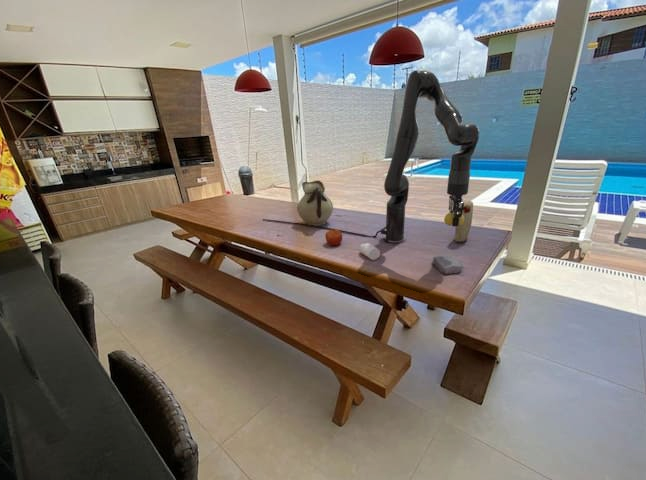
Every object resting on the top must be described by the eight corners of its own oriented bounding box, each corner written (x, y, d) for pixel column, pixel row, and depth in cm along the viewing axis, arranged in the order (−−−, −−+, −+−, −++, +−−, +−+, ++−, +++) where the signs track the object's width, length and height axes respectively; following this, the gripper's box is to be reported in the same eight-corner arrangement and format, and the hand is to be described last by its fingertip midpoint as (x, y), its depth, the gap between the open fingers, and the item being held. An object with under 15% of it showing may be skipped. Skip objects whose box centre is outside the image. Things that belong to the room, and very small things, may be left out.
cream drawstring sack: (313, 216, 208) (310, 178, 197) (342, 221, 196) (340, 181, 185) (291, 225, 192) (286, 185, 181) (321, 231, 179) (318, 188, 169)
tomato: (331, 248, 155) (331, 233, 151) (322, 243, 162) (321, 229, 158) (346, 244, 159) (346, 229, 155) (337, 239, 166) (336, 225, 163)
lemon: (445, 227, 123) (446, 214, 121) (442, 223, 128) (443, 211, 126) (464, 227, 122) (466, 214, 120) (461, 223, 127) (463, 211, 124)
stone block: (451, 264, 135) (430, 262, 134) (455, 254, 133) (433, 252, 132) (464, 277, 125) (441, 275, 123) (468, 267, 123) (445, 264, 121)
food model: (463, 244, 150) (469, 204, 141) (450, 241, 154) (455, 202, 146) (471, 239, 156) (477, 200, 147) (458, 236, 160) (463, 198, 152)
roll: (367, 249, 151) (367, 239, 149) (380, 258, 141) (380, 247, 138) (356, 252, 149) (356, 241, 147) (368, 261, 139) (368, 249, 136)
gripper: (444, 178, 124) (440, 219, 132) (452, 185, 112) (447, 229, 119) (463, 177, 123) (458, 218, 130) (474, 184, 110) (468, 229, 118)
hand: (453, 223), depth 125 cm, fingers closed on lemon, 5 cm apart
